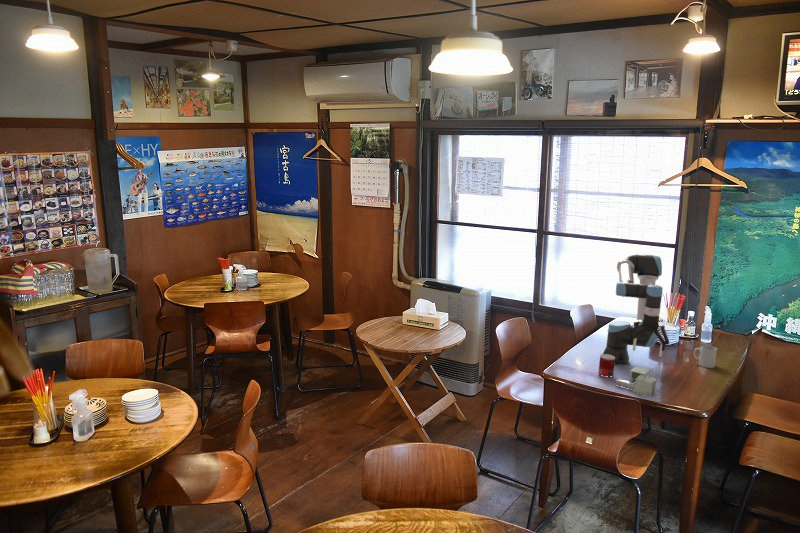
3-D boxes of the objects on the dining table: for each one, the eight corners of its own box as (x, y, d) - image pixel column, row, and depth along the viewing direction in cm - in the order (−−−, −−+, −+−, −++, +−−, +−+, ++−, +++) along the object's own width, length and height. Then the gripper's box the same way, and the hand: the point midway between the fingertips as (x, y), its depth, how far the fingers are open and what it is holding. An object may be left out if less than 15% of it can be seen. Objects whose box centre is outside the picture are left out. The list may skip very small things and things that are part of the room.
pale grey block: (614, 387, 328) (615, 373, 326) (619, 383, 333) (620, 369, 332) (649, 397, 316) (651, 382, 315) (654, 393, 322) (656, 378, 320)
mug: (715, 364, 365) (718, 347, 363) (713, 369, 358) (715, 351, 356) (693, 360, 372) (696, 342, 369) (690, 364, 365) (693, 346, 363)
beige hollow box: (634, 380, 338) (635, 366, 337) (647, 384, 334) (649, 369, 332) (628, 384, 332) (630, 370, 330) (642, 388, 327) (644, 374, 326)
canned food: (611, 379, 339) (613, 360, 337) (596, 375, 343) (598, 356, 341) (614, 374, 345) (616, 355, 343) (600, 371, 350) (602, 352, 347)
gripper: (625, 311, 330) (621, 349, 334) (675, 320, 316) (670, 360, 320) (629, 308, 336) (625, 346, 340) (678, 317, 322) (673, 356, 326)
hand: (647, 353), depth 330 cm, fingers open, 13 cm apart
